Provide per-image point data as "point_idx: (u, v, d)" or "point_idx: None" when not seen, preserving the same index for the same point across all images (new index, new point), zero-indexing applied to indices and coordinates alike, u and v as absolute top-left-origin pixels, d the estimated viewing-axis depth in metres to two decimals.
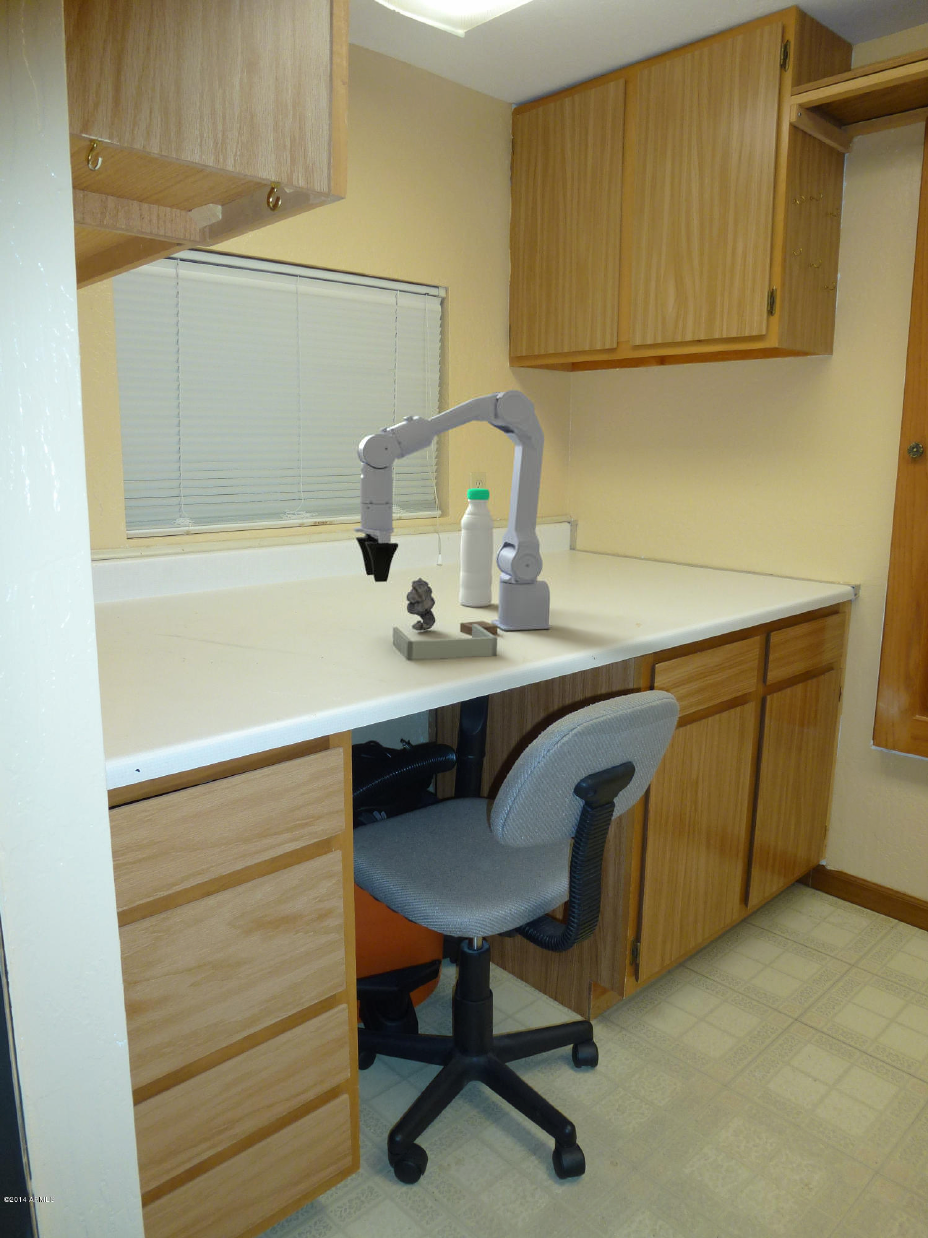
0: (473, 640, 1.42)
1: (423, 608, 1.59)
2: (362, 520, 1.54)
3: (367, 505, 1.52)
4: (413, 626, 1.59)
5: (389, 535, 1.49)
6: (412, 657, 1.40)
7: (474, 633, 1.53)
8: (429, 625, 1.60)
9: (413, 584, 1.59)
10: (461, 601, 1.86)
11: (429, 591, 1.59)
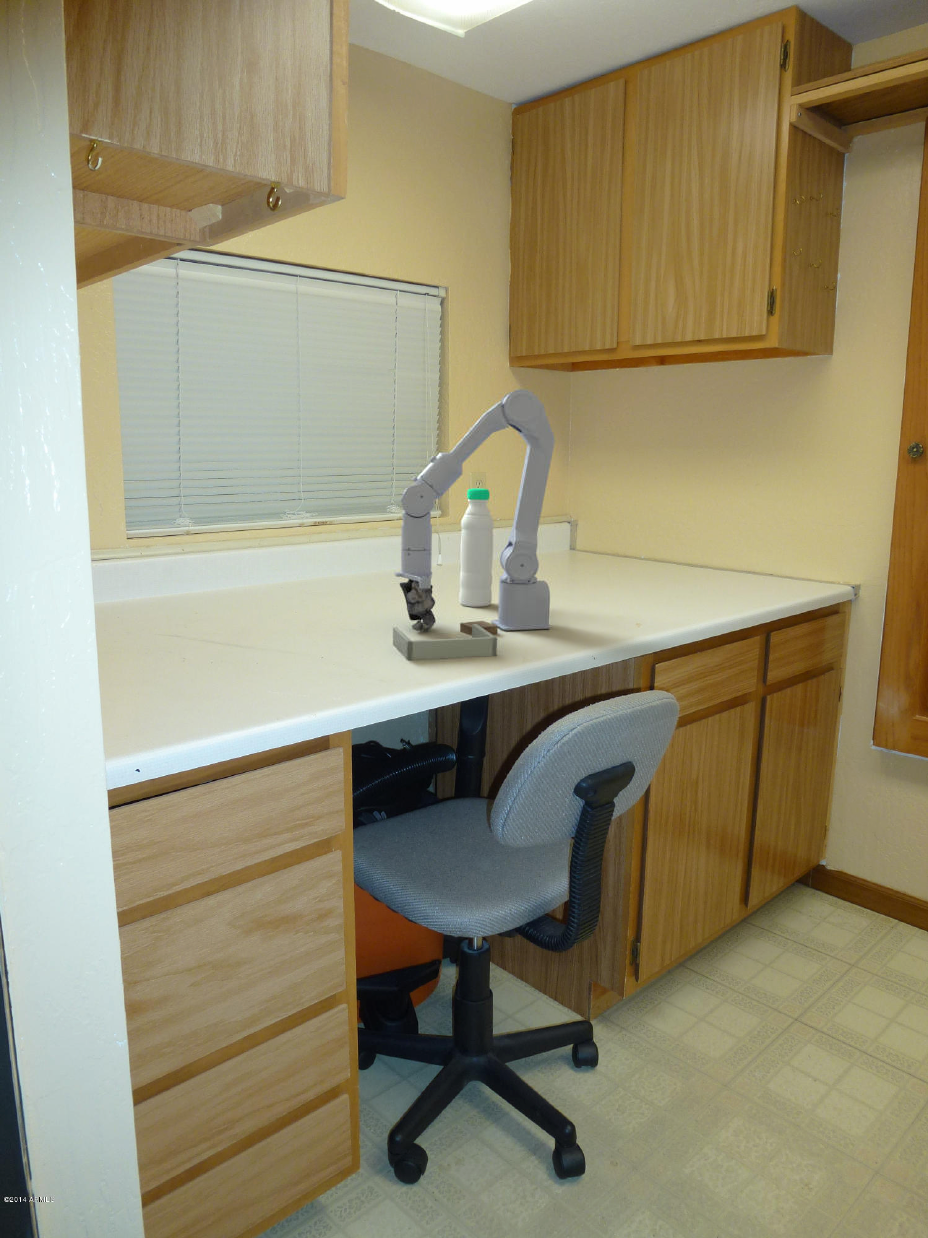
0: (473, 640, 1.42)
1: (423, 608, 1.59)
2: (403, 565, 1.62)
3: (408, 552, 1.60)
4: (413, 626, 1.59)
5: (429, 581, 1.57)
6: (412, 657, 1.40)
7: (474, 633, 1.53)
8: (429, 625, 1.60)
9: (413, 584, 1.59)
10: (461, 601, 1.86)
11: (429, 591, 1.59)
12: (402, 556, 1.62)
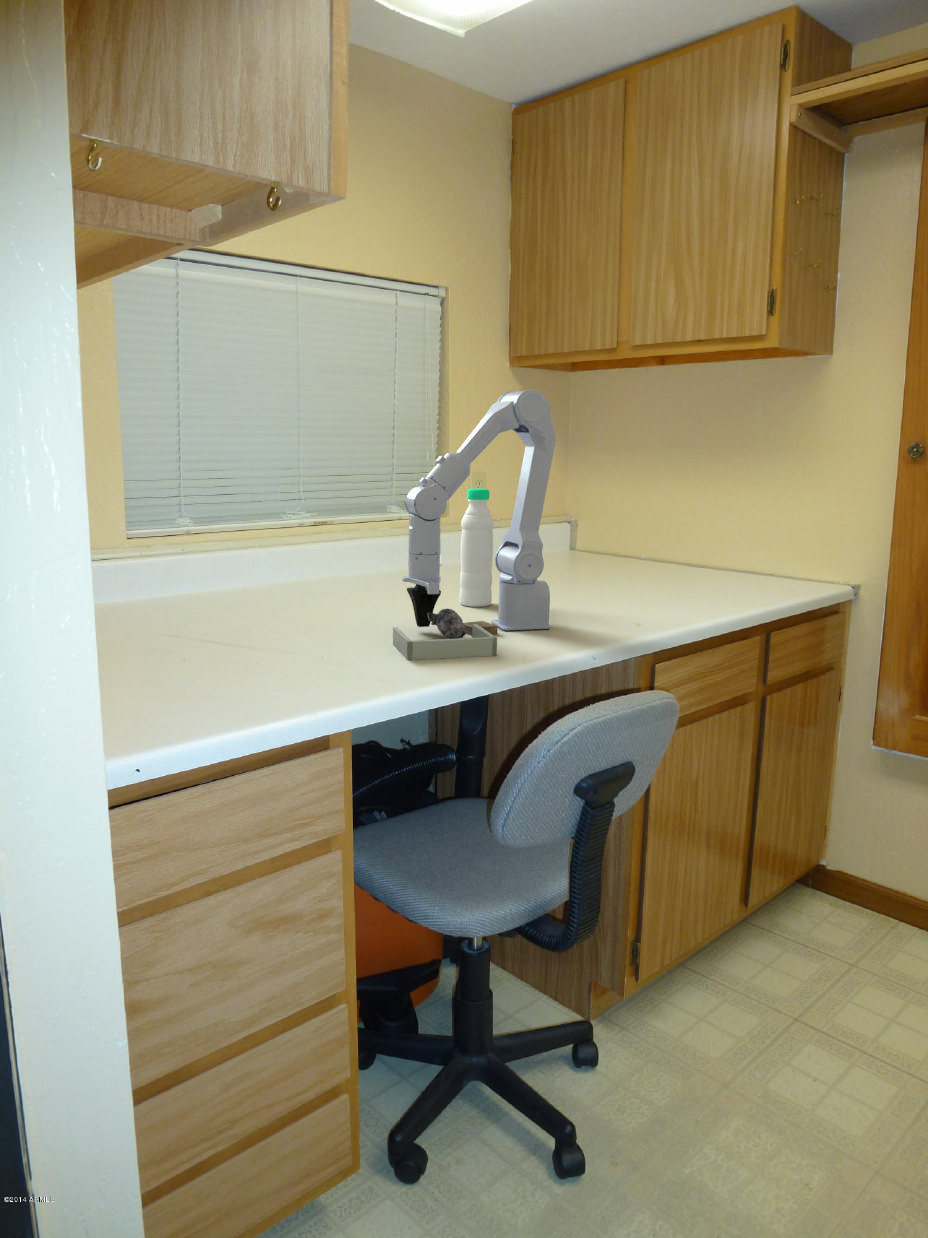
0: (473, 640, 1.42)
1: (439, 630, 1.55)
2: (410, 570, 1.56)
3: (415, 556, 1.55)
4: (428, 615, 1.57)
5: (438, 586, 1.52)
6: (412, 657, 1.40)
7: (474, 633, 1.53)
8: (437, 625, 1.58)
9: (452, 628, 1.51)
10: (461, 601, 1.86)
11: None
12: (409, 560, 1.56)
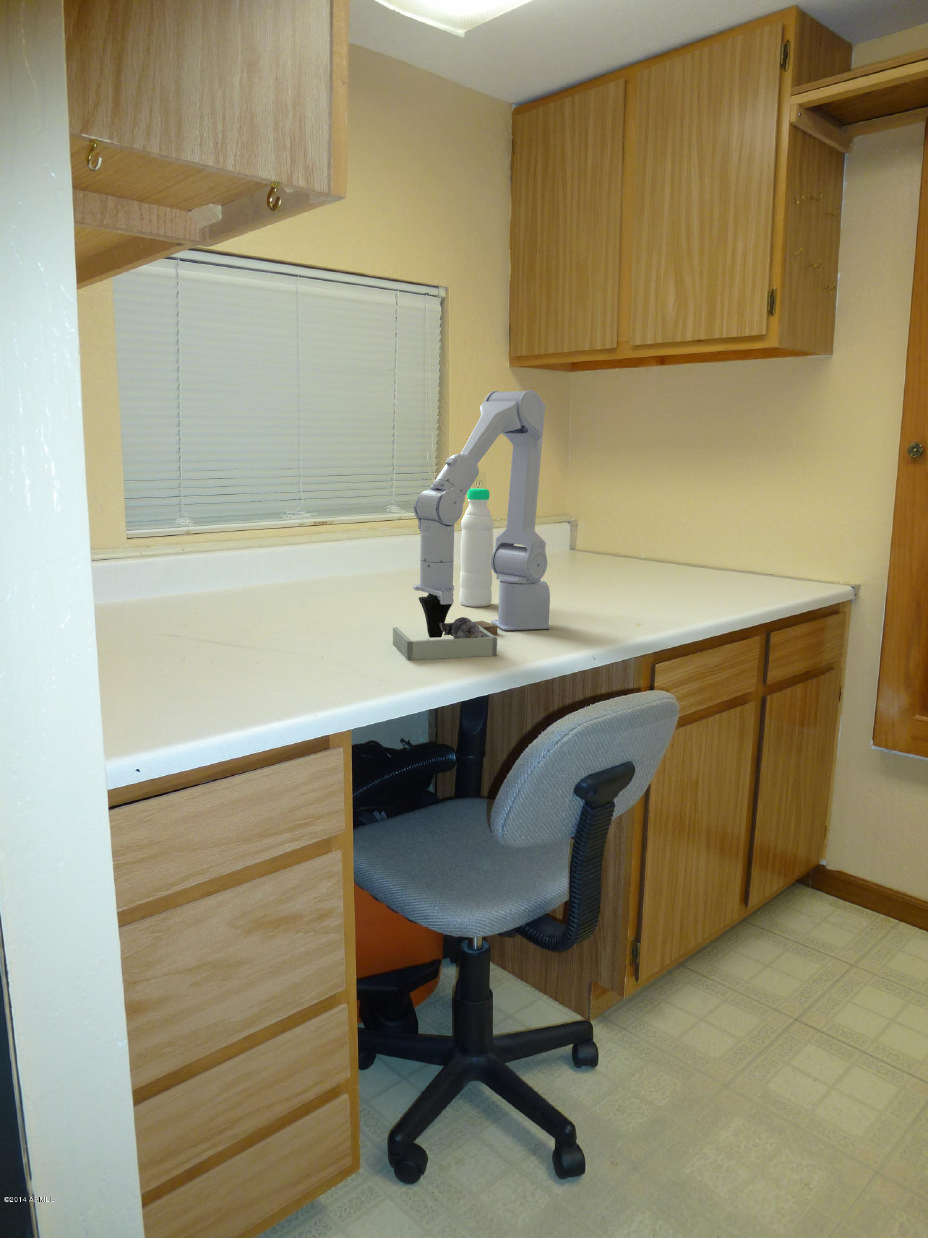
0: (473, 640, 1.42)
1: None
2: (422, 578, 1.48)
3: (428, 563, 1.46)
4: (440, 625, 1.49)
5: (452, 596, 1.43)
6: (412, 657, 1.40)
7: None
8: (449, 634, 1.51)
9: None
10: (461, 601, 1.86)
11: None
12: (421, 568, 1.48)
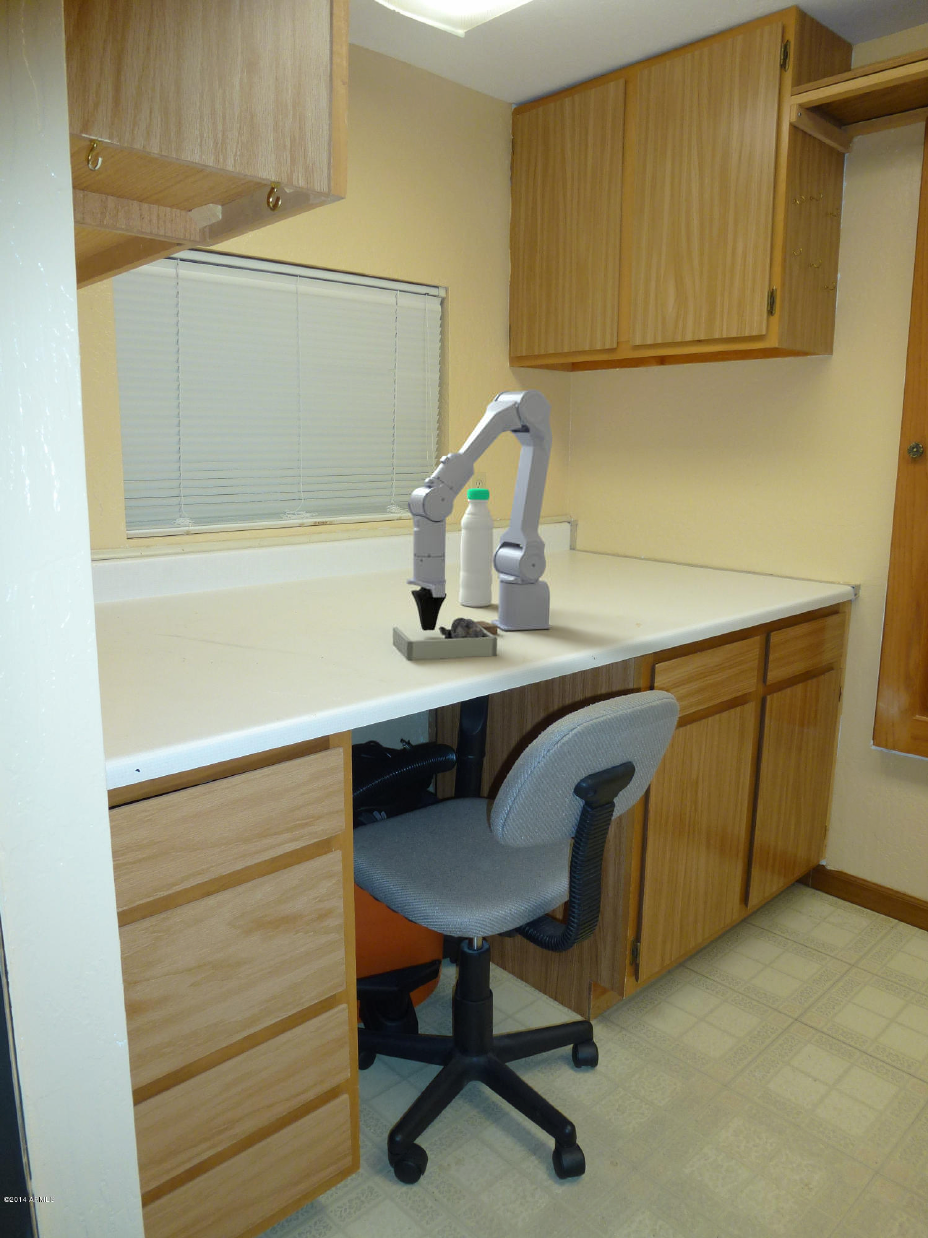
0: (473, 640, 1.42)
1: None
2: (415, 572, 1.53)
3: (420, 558, 1.52)
4: (440, 629, 1.50)
5: (444, 589, 1.48)
6: (412, 657, 1.40)
7: None
8: None
9: (471, 631, 1.45)
10: (461, 601, 1.86)
11: None
12: (414, 563, 1.53)
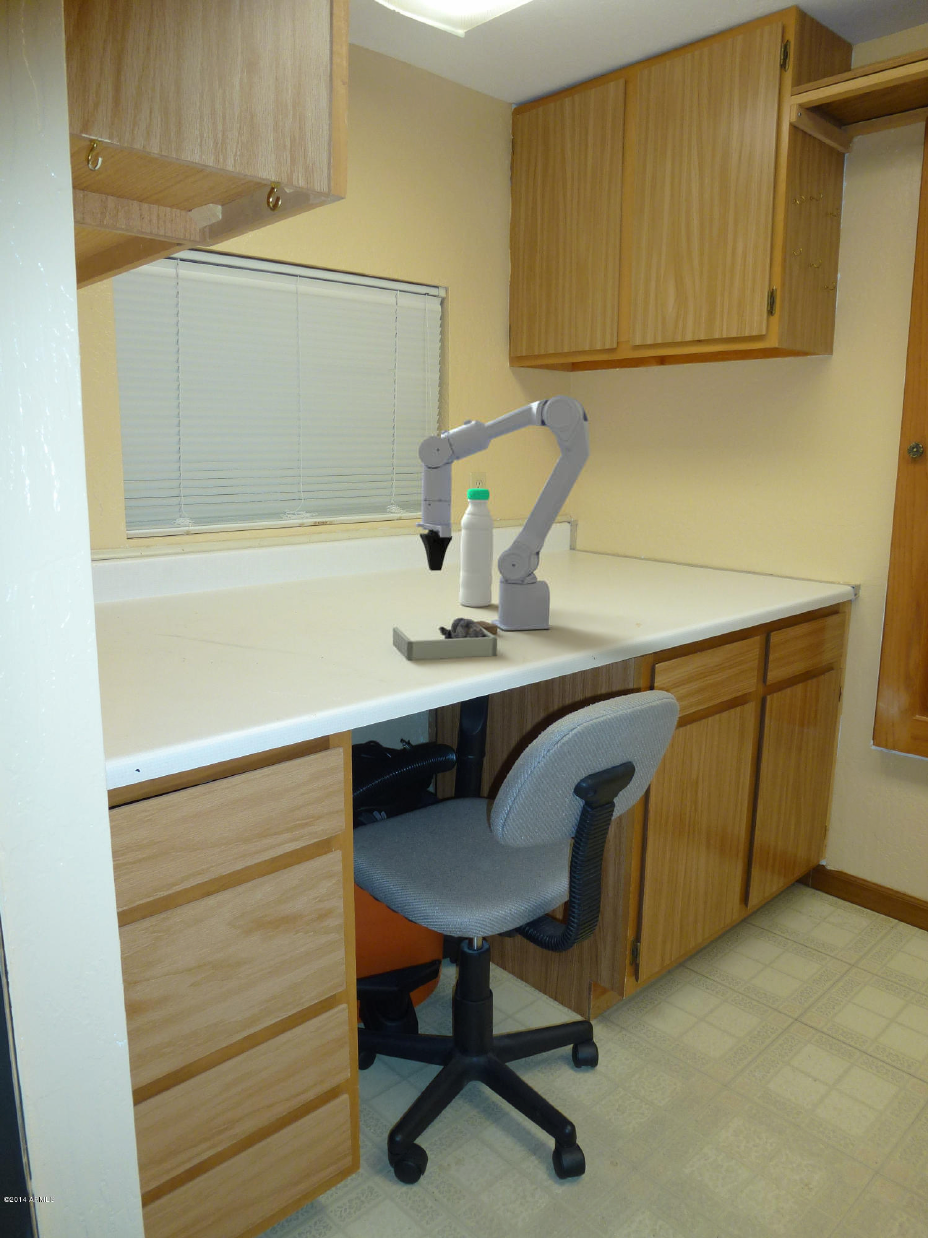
0: (473, 640, 1.42)
1: None
2: (423, 516, 1.66)
3: (428, 502, 1.64)
4: (440, 629, 1.50)
5: (450, 530, 1.61)
6: (412, 657, 1.40)
7: None
8: None
9: (471, 631, 1.45)
10: (461, 601, 1.86)
11: None
12: (423, 507, 1.66)
